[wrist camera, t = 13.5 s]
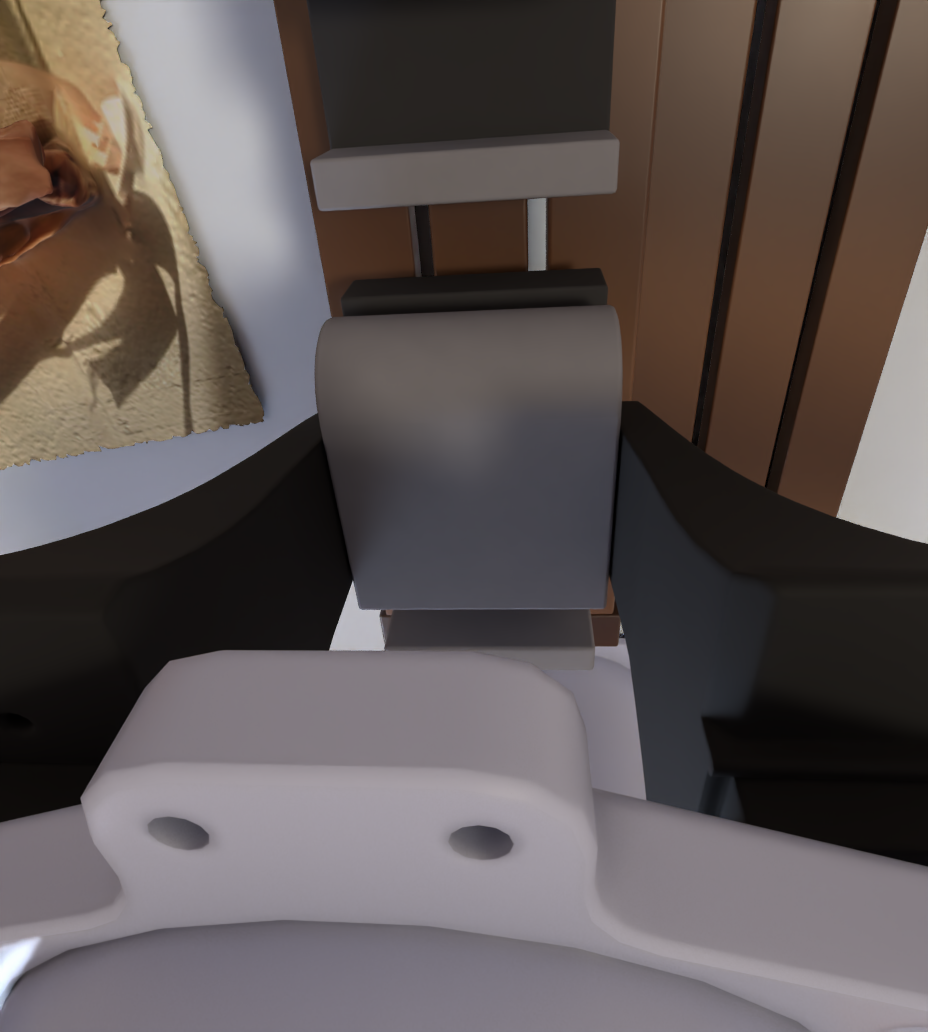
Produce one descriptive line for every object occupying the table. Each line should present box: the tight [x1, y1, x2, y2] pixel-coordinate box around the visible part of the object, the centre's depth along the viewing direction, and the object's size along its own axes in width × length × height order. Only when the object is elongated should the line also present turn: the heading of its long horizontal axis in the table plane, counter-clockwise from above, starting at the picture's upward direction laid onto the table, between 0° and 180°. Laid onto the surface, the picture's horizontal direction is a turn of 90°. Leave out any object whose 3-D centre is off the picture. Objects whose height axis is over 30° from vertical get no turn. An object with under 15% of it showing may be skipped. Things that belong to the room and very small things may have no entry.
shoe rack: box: [273, 0, 928, 647], centre depth 14 cm, size 22×13×6 cm, turn 4°
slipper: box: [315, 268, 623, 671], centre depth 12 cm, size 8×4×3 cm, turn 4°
